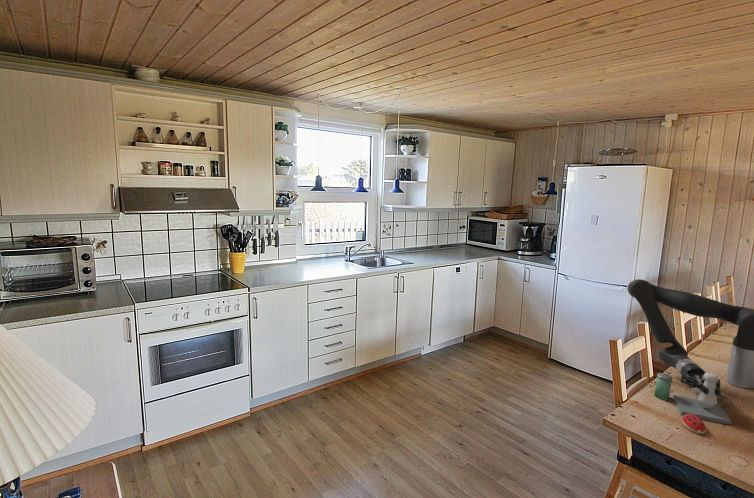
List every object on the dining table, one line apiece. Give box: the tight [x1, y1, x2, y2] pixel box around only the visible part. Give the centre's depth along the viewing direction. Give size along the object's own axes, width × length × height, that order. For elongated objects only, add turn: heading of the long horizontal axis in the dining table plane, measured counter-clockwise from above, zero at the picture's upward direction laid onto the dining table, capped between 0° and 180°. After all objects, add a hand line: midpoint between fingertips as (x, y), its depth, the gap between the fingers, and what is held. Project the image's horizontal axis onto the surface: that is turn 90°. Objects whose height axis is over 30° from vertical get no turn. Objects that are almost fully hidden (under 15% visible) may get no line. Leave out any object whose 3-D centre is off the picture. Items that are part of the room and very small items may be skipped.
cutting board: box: [672, 394, 732, 426], centre depth 160 cm, size 15×13×2 cm
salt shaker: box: [697, 372, 719, 409], centre depth 158 cm, size 6×6×13 cm
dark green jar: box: [653, 372, 673, 401], centre depth 169 cm, size 5×5×9 cm
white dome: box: [690, 387, 701, 395], centre depth 174 cm, size 7×7×4 cm
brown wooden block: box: [717, 390, 730, 407], centre depth 166 cm, size 5×5×4 cm
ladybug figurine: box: [681, 414, 707, 435], centre depth 149 cm, size 7×10×4 cm
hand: (712, 392), depth 155 cm, fingers closed on salt shaker, 3 cm apart
